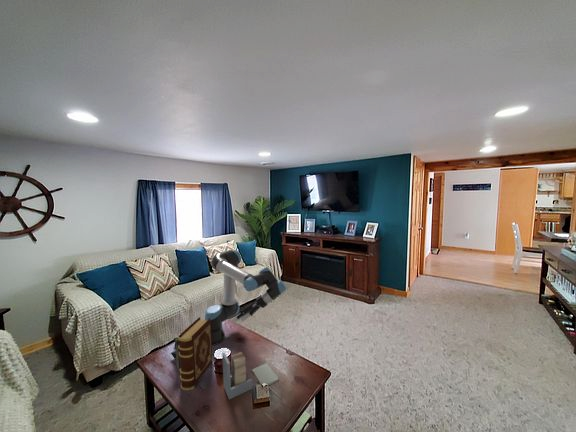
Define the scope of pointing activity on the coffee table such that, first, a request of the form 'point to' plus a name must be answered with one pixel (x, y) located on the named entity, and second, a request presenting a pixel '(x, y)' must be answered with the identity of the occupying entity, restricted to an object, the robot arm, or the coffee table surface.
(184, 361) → the decorative book
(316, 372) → the coffee table surface
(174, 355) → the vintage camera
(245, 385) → the slot rack
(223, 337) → the robot arm
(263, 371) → the sage tile
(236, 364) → the block
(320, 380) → the coffee table surface
